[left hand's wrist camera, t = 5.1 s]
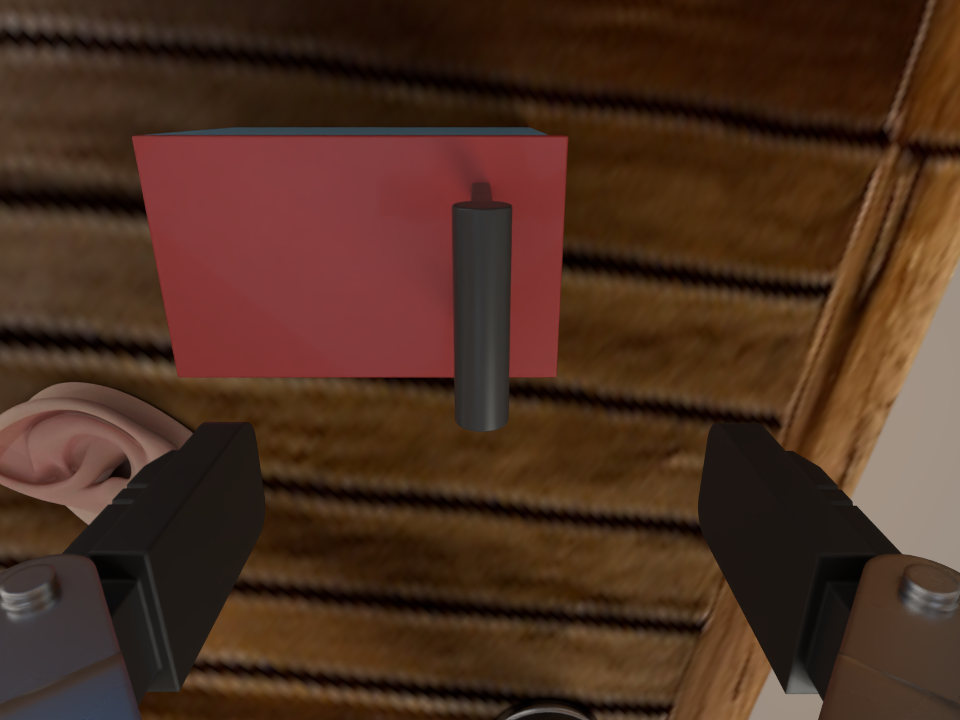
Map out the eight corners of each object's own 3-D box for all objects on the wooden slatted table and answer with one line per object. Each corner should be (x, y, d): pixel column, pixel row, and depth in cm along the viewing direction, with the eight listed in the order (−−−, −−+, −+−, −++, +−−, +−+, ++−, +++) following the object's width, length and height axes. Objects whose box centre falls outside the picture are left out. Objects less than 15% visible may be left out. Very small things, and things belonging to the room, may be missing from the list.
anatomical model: (231, 554, 39) (76, 611, 41) (253, 515, 43) (110, 569, 44) (104, 370, 34) (-65, 443, 36) (140, 345, 38) (-14, 411, 40)
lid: (565, 134, 25) (608, 148, 17) (554, 370, 28) (584, 475, 20) (141, 134, 25) (-24, 148, 16) (185, 370, 28) (68, 476, 20)
